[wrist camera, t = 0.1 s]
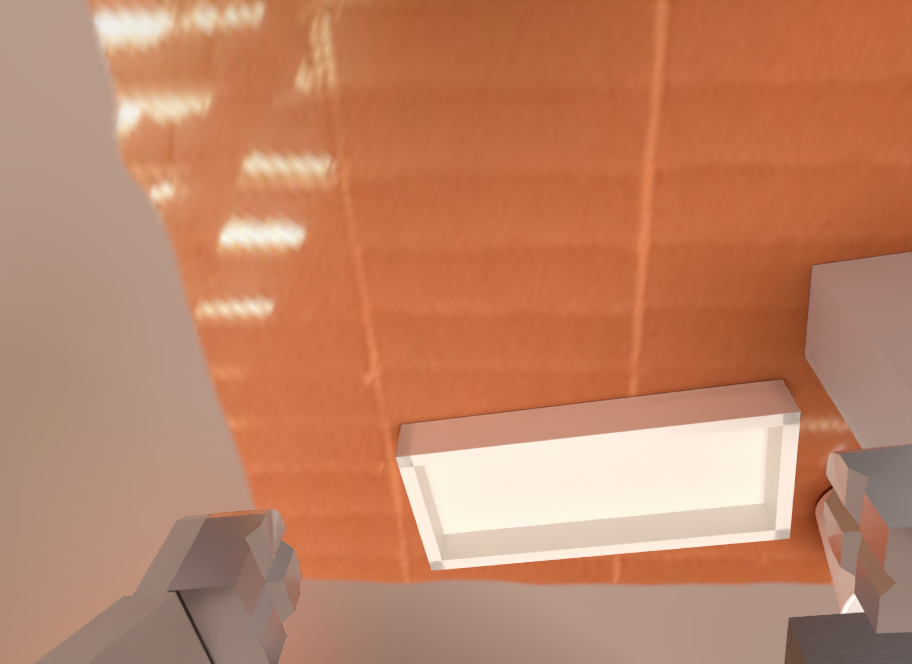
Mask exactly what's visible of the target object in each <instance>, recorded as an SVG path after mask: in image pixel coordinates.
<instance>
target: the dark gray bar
mask: <svg viewBox="0 0 912 664" xmlns="http://www.w3.org/2000/svg"><path fill="white" fill-rule="evenodd" d="M785 664H912V632H901V633H877V634H876V632H875V630H874V628H873V627H872V625H871V623H870V621H869V619H868V617H867V616H866V614H865V612H859V613H845V614H832V615H820V616H805V617H792V618H789V621H788V631H787V642H786V653H785Z"/></svg>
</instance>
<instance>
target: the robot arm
mask: <svg viewBox="0 0 912 664" xmlns="http://www.w3.org/2000/svg"><path fill="white" fill-rule="evenodd" d="M826 476H827V478H828V479H829V481H830V483H831V484H832V486H833V488H834V490H833V491H832V492H831V494H830V495H829V496H828V497H827V498H826V499H825V500H824V522H825V527H826V533H827V538H828V541H829V544H830V547H831V549H832V552H833V554H834V556H835V558H836V560H837V562H838V564H839V566H840V567H841V568H842V569H844V570H845V571H847V572H849V573H850V574H852V575H853V576H855V588H854V594H855V596H856V597H857V599H858V601H859V603H860V605H861V607H862V608H863V610H864V612H865V614H866V616H867V617H868V619H869V621H870V623H871V625H872V627H873V628H874V630H875V632H876V634H877V633H901V632H912V443H908V444H902V445H893V446H884V447H874V448H865V449H856V450H846V451H837V452H831V453H830V455H829V458H828V460H827V470H826ZM285 529H286V527H285V525H284V522H283V520H282V518H281V515H280V513H279V512H278V511H276V510H274V509H261V510H248V511H236V512H223V513H214V514H203V515H191V516H184V517H182V518H181V519H179V520H177V521H176V523H175V524H174V526H173V528H172V529H171V531H170V533H169V535H168V536H167V538H166V540H165V541H164V544H163V545H162V546H161V548H160V550H159V552H158V553H157V555H156V557H155V558H154V560H153V562H152V563H151V565H150V567H149V568H148V570H147V572H146V573H145V575H144V577H143V579H142V580H141V582H140V584H139V585H138V587H137V589H136V591H135V592H134V594H133V595H132V596H123V597H122V598H120V599H119V600H118V601H116V602H115V603H114V604H112V605H111V606H110V607H108V608H107V609H106V610H104V611H103V612H102V613H100V614H99V615H98V616H96V617H95V618H94V619H92V620H91V621H90V622H89V623H87V624H86V625H84V626H83V627H82V628H80V629H79V630H78V631H76V632H75V633H74V634H72V635H71V636H70V637H68V638H67V639H66V640H64V641H63V642H61V643H60V644H59V645H58V646H56V647H55V648H54V649H52V650H51V651H49V652H48V653H47V654H46V655H44V656H43V657H41V658H40V659H39V660H37V661H36V662H35V663H34V664H278V661H279V658H280V655H281V652H282V649H283V646H284V643H285V640H286V637H287V635H286V632H285V630H284V627H283V625H282V623H283V622H284V621H285V620H286V619H287V618H288V617H289V616H290V615H291V614H292V613H293V612H294V611H295V609H296V606H297V602H298V599H299V596H300V582H301V574H300V568H299V561H298V559H297V556H296V553H295V550H294V549H293V548H292V547H290V546H289V545H288V544H286V543H285V542H283V541H282V537H283V534H284V532H285Z"/></svg>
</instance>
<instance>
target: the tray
mask: <svg viewBox="0 0 912 664" xmlns="http://www.w3.org/2000/svg"><path fill="white" fill-rule="evenodd" d="M800 414H801V411H800V409H799V408H798V406H797V404H796V402H795V400H794V399H793V397H792V395H791V393H790V391H789V390H788V388H787V386H786V384H785V382H784V381H783V379H779V380H771V381H763V382H754V383H746V384H737V385H729V386H721V387H712V388H704V389H695V390H687V391H679V392H670V393H662V394H654V395H645V396H637V397H628V398H620V399H612V400H603V401H595V402H586V403H578V404H570V405H561V406H553V407H545V408H536V409H528V410H519V411H511V412H503V413H494V414H486V415H477V416H469V417H461V418H452V419H444V420H436V421H427V422H419V423H410V424H402V425H401V428H400V434H399V440H398V446H397V453H396V460H397V463H398V466H399V469H400V472H401V476H402V479H403V482H404V485H405V488H406V491H407V494H408V498H409V501H410V504H411V507H412V510H413V513H414V516H415V520H416V523H417V526H418V529H419V532H420V535H421V538H422V542H423V545H424V548H425V551H426V554H427V557H428V561H429V564H430V567H431V570H443V569H454V568H465V567H476V566H488V565H499V564H510V563H521V562H532V561H543V560H554V559H566V558H577V557H588V556H599V555H610V554H621V553H633V552H644V551H655V550H666V549H677V548H688V547H700V546H711V545H722V544H733V543H744V542H755V541H767V540H778V539H789V538H790V528H791V516H792V505H793V494H794V482H795V471H796V460H797V448H798V437H799V426H800Z"/></svg>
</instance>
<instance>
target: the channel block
mask: <svg viewBox="0 0 912 664" xmlns="http://www.w3.org/2000/svg"><path fill="white" fill-rule="evenodd" d="M804 356H805V358H806V360H807V361H808V363H809V364H810V366H811V368H812V369H813V371H814V372H815V374H816V376H817V377H818V379H819V380H820V382H821V384H822V385H823V387H824V388H825V390H826V392H827V393H828V395H829V396H830V398H831V400H832V401H833V403H834V404H835V406H836V407H837V409H838V411H839V412H840V414H841V415H842V417H843V419H844V420H845V422H846V423H847V425H848V427H849V428H850V430H851V431H852V433H853V435H854V436H855V438H856V439H857V441H858V443H859V444H860V446H861V447H862V449H865V448H874V447H884V446H893V445H902V444H908V443H912V252H905V253H898V254H890V255H883V256H876V257H869V258H862V259H855V260H847V261H840V262H833V263H826V264H819V265H812V274H811V286H810V297H809V309H808V320H807V332H806V343H805V355H804Z"/></svg>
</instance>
